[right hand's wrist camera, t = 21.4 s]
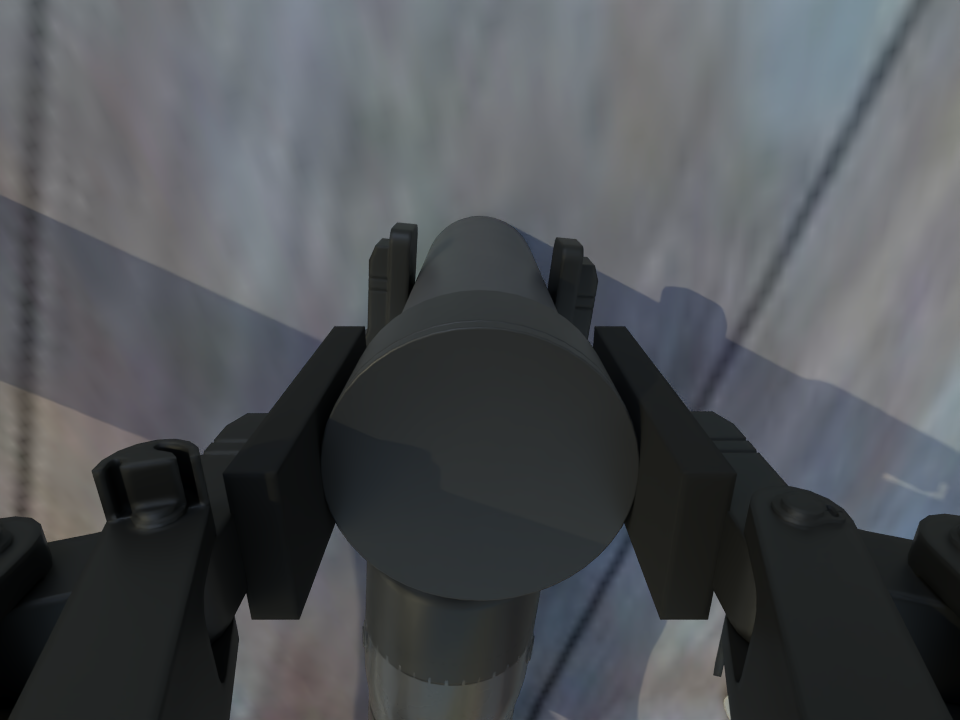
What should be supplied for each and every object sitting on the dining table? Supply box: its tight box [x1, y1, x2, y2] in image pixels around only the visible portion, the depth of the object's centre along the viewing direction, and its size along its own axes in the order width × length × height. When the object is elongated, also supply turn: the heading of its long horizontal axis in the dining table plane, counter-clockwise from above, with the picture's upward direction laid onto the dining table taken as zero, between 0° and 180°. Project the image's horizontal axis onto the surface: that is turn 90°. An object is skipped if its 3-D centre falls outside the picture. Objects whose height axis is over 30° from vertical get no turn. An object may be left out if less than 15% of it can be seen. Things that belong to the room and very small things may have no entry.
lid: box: [320, 290, 640, 601], centre depth 11 cm, size 6×6×2 cm
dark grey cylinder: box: [402, 216, 558, 313], centre depth 18 cm, size 5×5×16 cm
